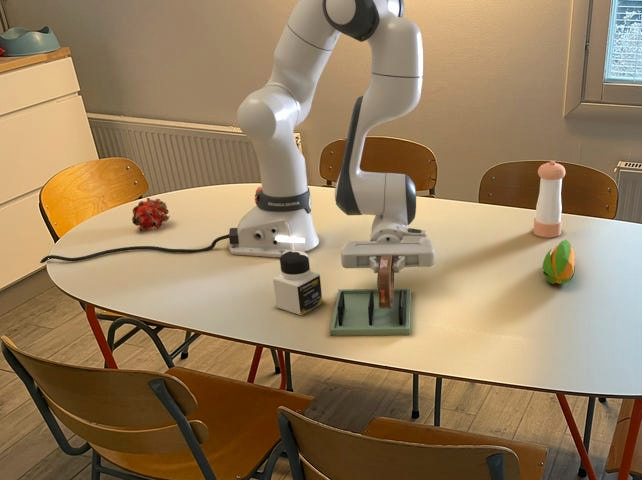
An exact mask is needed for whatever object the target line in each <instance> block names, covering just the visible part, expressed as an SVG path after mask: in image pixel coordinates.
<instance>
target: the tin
mask: <svg viewBox="0 0 642 480" xmlns="http://www.w3.org/2000/svg"><path fill="white" fill-rule="evenodd" d="M393 262H394V259H393V254H391V255H381V256H380V261H379V267H378V273H377V278H376V279H377V281H376V286H377V289H378V292H379V308H382V309H392V305H393V296H394V289H395V273H393Z"/></svg>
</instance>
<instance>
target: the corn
mask: <svg viewBox="0 0 642 480" xmlns="http://www.w3.org/2000/svg"><path fill="white" fill-rule="evenodd" d="M551 251H552V249H549V251H548V252H547V253H546V255H545V257H544V258H543V262H542V271H543V272H542V273H543V275H544V278H545V280H546V281H547V282H548V283H550V284H551V285H554V284H558V285H559V286H562V285H564V284H567V283H568V282H570V280H572V278H574V275H575V272H576V271H575V269H576V268H575V259H576V253H575V250H574V249H573V246H572V244H571V243H570V241H569V240H568V239H563V240H561V241H560V242H559V244H558V245H557V246H556V247H555V248H554V249H553V251H552V252H551Z"/></svg>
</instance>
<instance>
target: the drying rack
mask: <svg viewBox="0 0 642 480" xmlns="http://www.w3.org/2000/svg"><path fill="white" fill-rule="evenodd" d="M411 298H412V297H411V288H394V296H393V305H392V309H382V308H379V292H378V288H347V289H341V288H340V289H339V288H338V290H337V295H336V299H335V304H334V309H333V313H332V319H331V323H330V328H329V336H331V337H344V336H345V337H346V336H347V337H349V336H410V334H411V333H410V332H411V300H412V299H411Z"/></svg>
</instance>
